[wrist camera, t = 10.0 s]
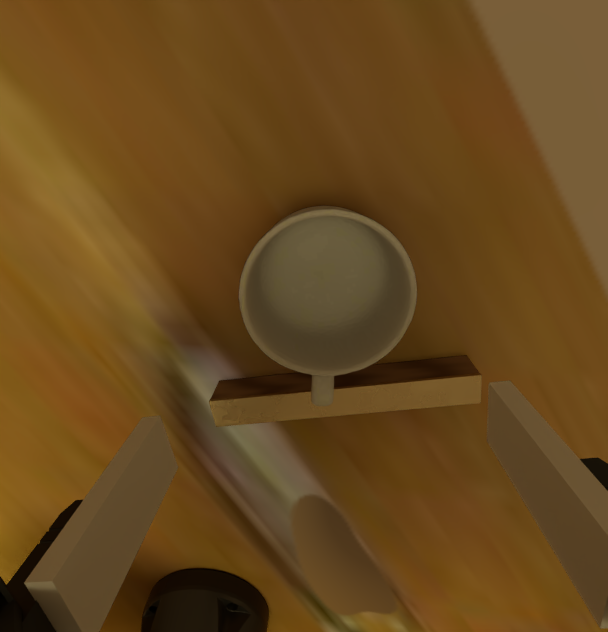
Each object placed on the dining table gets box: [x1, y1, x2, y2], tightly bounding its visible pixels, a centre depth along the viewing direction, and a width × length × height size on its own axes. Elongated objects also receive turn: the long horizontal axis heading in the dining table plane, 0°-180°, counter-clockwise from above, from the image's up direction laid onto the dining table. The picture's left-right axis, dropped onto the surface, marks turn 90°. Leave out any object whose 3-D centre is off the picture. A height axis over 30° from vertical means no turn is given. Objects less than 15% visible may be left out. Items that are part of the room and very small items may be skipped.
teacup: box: [239, 206, 417, 406], centre depth 27 cm, size 14×11×8 cm
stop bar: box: [209, 355, 482, 427], centre depth 32 cm, size 22×3×3 cm, turn 98°
